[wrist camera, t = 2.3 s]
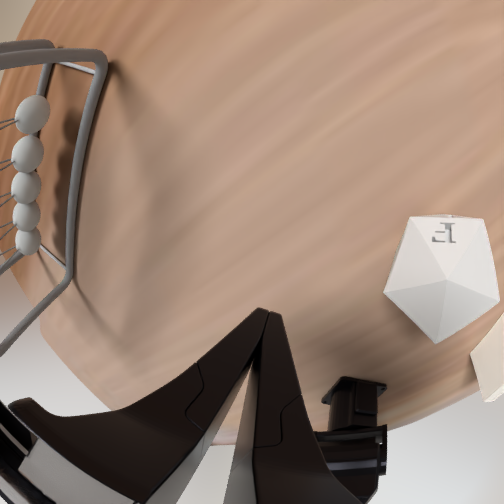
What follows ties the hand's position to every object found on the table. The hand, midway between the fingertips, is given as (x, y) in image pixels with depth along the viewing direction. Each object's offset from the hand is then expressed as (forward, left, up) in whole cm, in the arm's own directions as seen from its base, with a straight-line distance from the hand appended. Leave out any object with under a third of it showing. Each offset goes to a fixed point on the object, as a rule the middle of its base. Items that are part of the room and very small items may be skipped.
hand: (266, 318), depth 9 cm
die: (0, -11, -12) cm, 16 cm away
